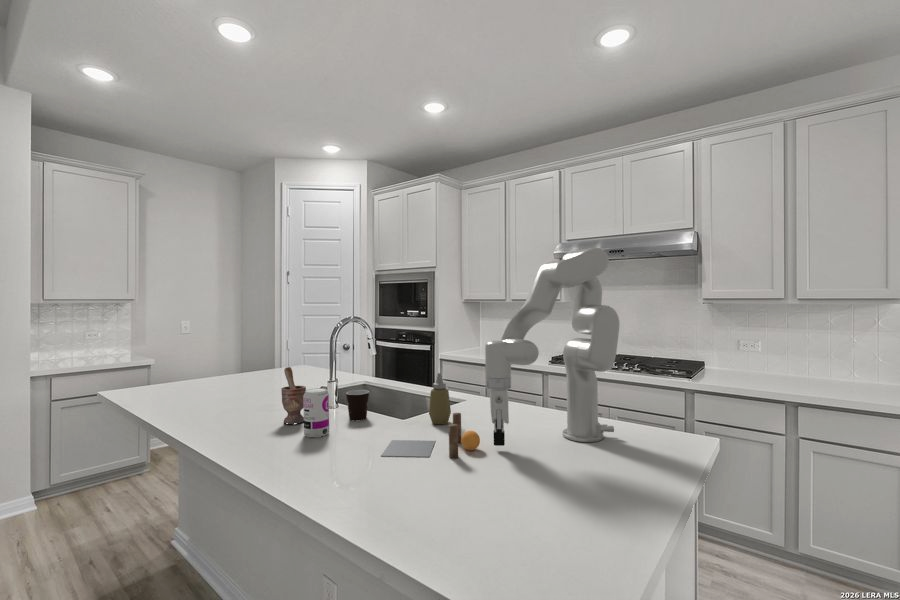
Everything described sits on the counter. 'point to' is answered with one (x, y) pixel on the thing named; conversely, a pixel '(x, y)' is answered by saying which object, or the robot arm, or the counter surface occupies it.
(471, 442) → the ball
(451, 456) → the post
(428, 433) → the counter surface
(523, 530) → the counter surface
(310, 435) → the supplement can
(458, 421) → the post
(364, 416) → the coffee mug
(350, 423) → the counter surface
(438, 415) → the squeeze bottle
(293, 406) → the mortar and pestle
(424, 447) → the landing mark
